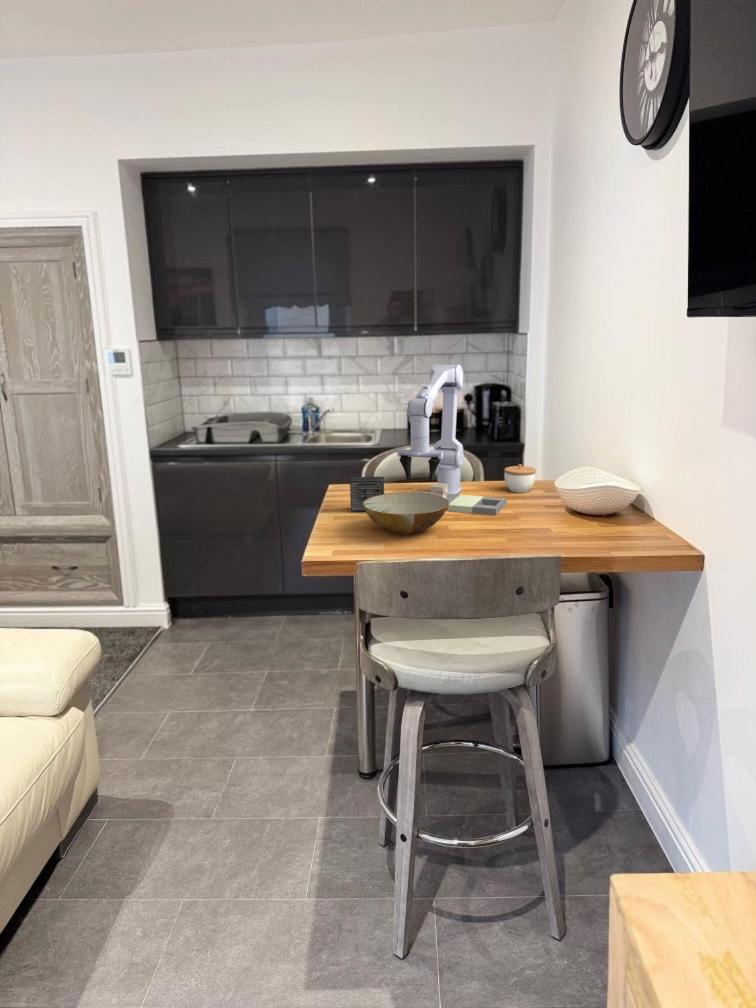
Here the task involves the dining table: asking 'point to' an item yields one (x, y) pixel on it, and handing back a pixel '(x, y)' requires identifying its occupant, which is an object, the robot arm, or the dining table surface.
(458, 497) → the plate
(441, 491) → the block
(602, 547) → the dining table surface
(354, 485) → the small box
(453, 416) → the robot arm
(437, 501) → the bowl
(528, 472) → the lidded jar
